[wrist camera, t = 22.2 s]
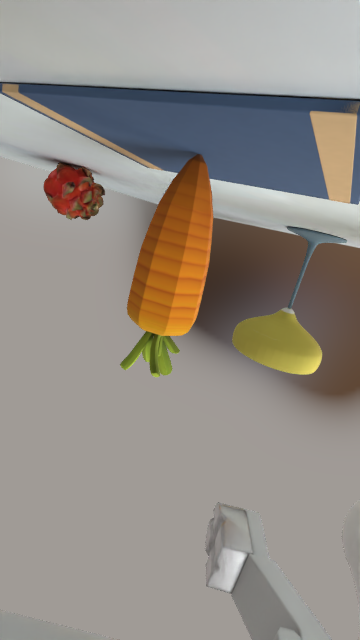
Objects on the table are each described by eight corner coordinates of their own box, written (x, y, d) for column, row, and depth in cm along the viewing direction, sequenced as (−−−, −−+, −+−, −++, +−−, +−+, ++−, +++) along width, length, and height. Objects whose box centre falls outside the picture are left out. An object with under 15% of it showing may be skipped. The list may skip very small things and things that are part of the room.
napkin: (382, 101, 9) (375, 117, 9) (360, 198, 21) (357, 205, 21) (-4, 82, 16) (-5, 91, 16) (147, 162, 28) (146, 167, 28)
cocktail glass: (249, 217, 58) (214, 336, 66) (338, 232, 45) (281, 379, 52) (302, 234, 69) (266, 335, 77) (386, 251, 56) (333, 370, 63)
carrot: (142, 136, 17) (99, 367, 22) (216, 142, 15) (152, 401, 19) (188, 163, 22) (144, 353, 26) (252, 171, 19) (192, 379, 23)
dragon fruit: (106, 159, 43) (68, 144, 50) (52, 182, 40) (19, 163, 47) (122, 214, 49) (86, 194, 56) (77, 238, 46) (44, 214, 53)
